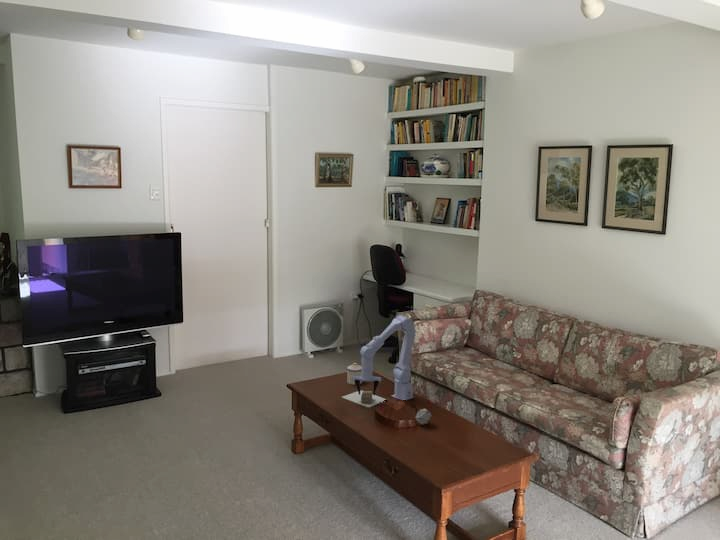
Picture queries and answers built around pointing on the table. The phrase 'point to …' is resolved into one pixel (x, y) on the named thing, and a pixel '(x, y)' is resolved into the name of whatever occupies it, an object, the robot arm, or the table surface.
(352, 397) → the grey mat
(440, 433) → the table surface
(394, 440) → the table surface
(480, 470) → the table surface
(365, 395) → the brown rectangular block
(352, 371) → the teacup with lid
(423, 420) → the grey rock
